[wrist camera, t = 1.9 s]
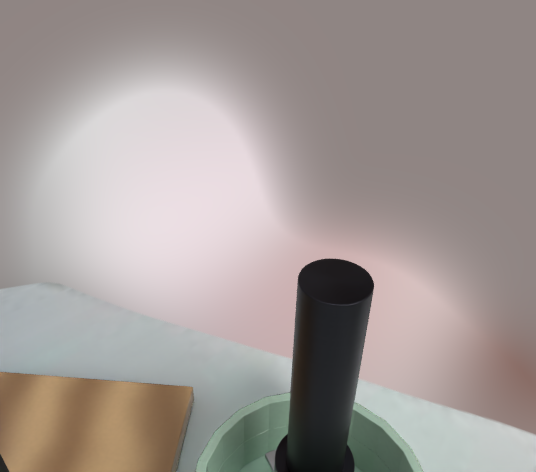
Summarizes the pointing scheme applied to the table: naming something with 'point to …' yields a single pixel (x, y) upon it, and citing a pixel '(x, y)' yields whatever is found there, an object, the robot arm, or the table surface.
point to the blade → (325, 367)
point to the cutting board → (91, 424)
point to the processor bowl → (276, 427)
